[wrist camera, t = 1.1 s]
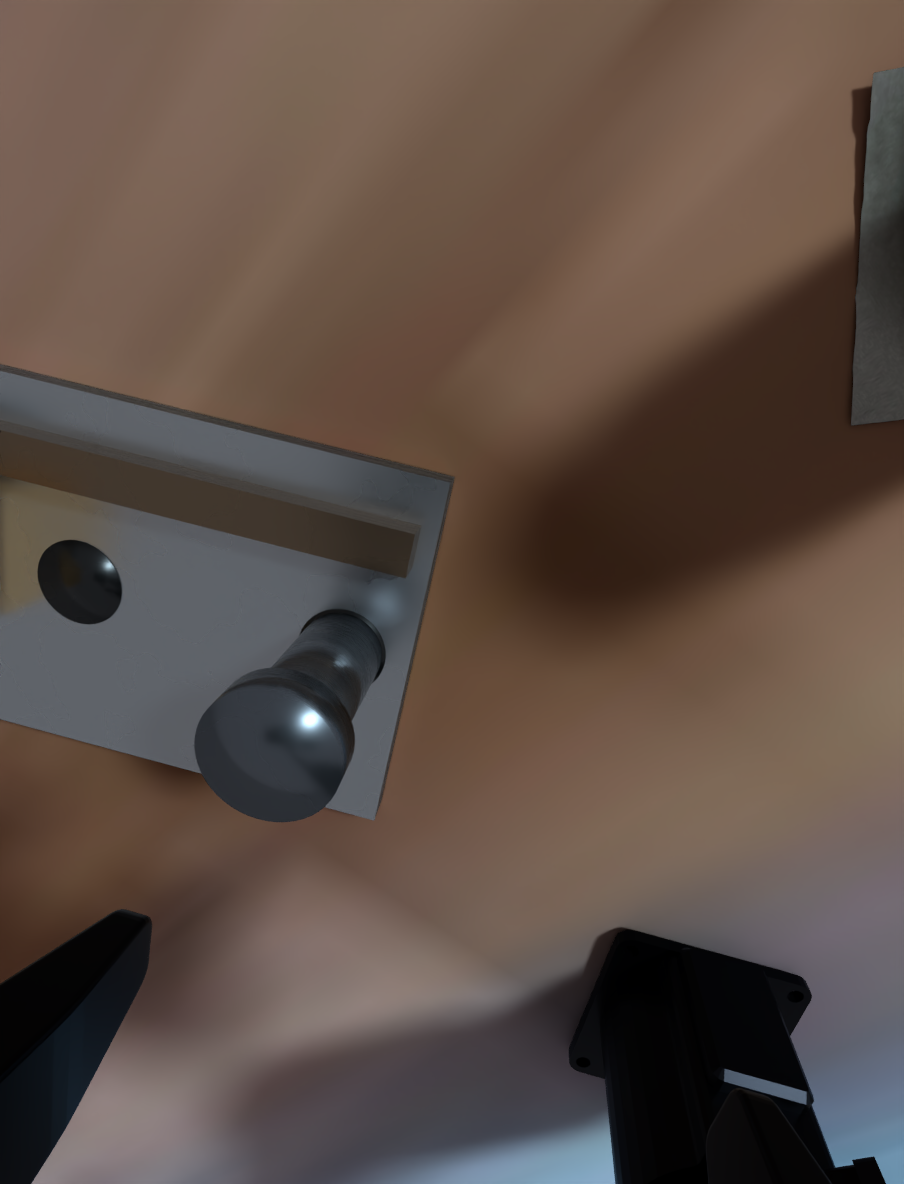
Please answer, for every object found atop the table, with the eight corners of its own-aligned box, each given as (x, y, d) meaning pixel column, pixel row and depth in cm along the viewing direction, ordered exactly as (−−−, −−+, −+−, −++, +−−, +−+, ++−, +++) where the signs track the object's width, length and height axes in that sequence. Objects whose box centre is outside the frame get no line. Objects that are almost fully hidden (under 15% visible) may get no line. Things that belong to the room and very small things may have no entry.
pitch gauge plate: (381, 800, 21) (319, 972, 15) (-71, 679, 22) (-305, 796, 16) (454, 476, 18) (413, 531, 11) (-93, 341, 18) (-409, 324, 12)
